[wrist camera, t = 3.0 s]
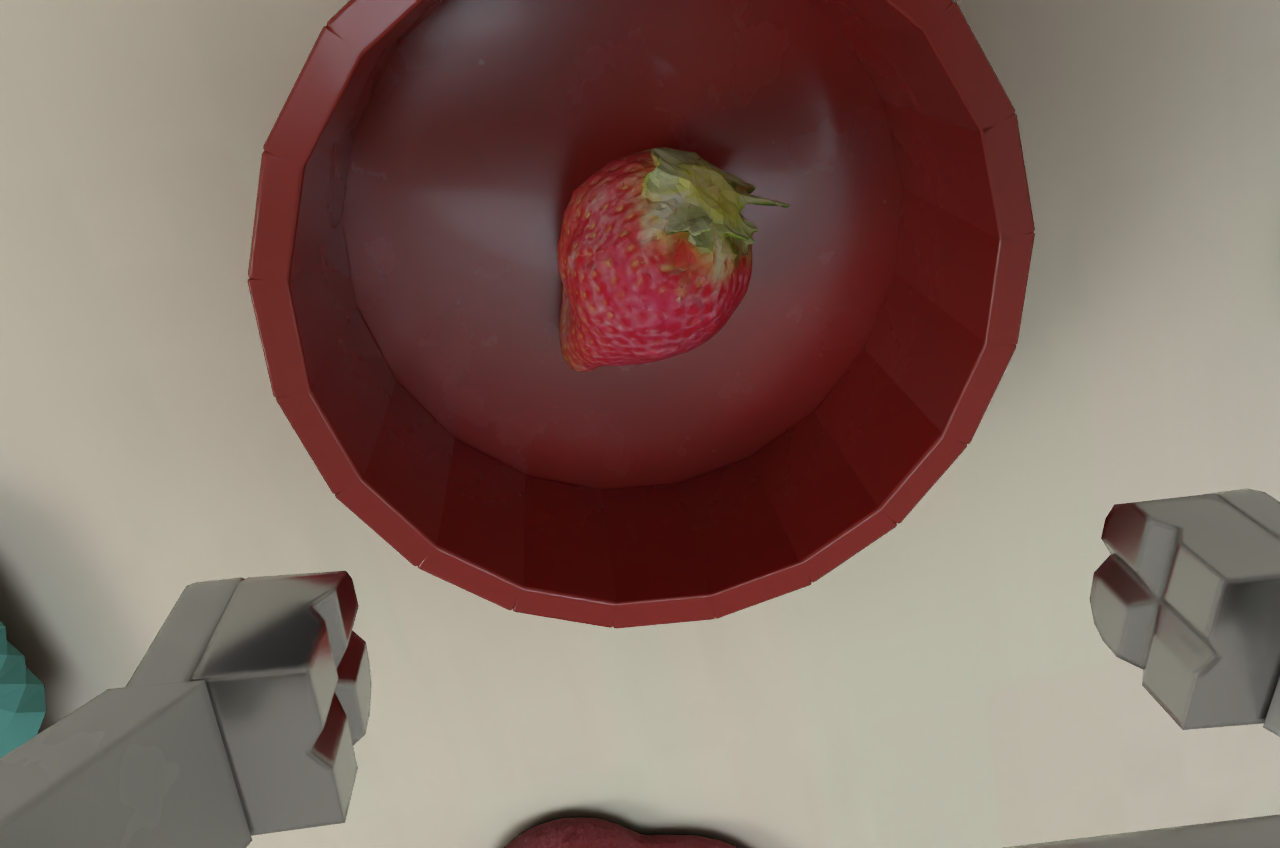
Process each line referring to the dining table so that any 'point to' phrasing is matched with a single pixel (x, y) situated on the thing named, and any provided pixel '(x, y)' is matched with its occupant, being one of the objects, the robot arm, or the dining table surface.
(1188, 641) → the robot arm
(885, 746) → the dining table surface
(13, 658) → the cutlery set
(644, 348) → the fruit
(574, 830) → the patty
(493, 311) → the pan
